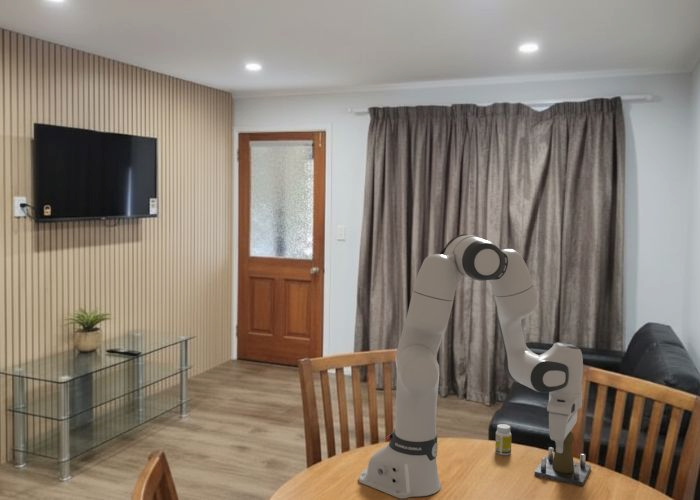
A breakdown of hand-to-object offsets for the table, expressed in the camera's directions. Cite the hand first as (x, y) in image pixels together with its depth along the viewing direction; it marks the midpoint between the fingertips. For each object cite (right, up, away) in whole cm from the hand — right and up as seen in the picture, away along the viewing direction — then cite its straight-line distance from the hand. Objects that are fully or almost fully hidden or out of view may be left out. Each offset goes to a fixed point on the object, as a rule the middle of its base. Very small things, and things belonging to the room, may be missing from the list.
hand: (563, 446), depth 177 cm
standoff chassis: (0, -8, +1) cm, 8 cm away
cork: (0, -7, +1) cm, 7 cm away
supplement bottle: (-14, -7, +15) cm, 21 cm away
